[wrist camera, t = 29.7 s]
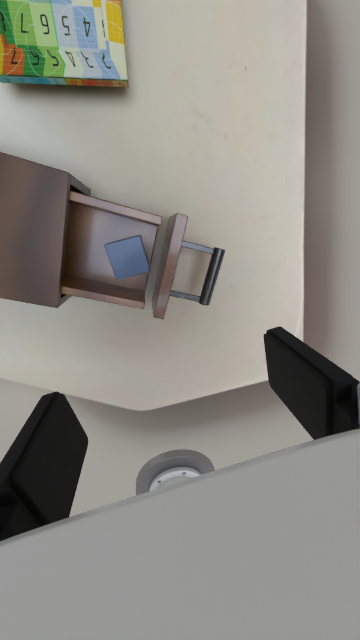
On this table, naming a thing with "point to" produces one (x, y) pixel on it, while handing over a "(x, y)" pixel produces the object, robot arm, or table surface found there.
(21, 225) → the cabinet
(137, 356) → the table surface
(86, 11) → the puzzle game
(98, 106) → the table surface
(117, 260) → the block
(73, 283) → the drawer
